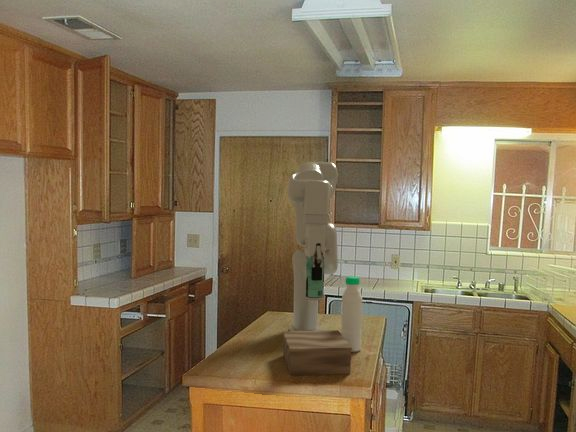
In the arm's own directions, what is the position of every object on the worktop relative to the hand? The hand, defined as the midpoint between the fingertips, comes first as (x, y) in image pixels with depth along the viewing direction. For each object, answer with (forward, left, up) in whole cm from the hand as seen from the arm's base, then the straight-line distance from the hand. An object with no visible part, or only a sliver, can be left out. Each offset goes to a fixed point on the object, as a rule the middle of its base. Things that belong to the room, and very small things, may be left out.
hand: (314, 277), depth 157 cm
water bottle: (-14, +16, -27) cm, 35 cm away
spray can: (0, 0, -7) cm, 7 cm away
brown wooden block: (0, +1, -27) cm, 27 cm away
